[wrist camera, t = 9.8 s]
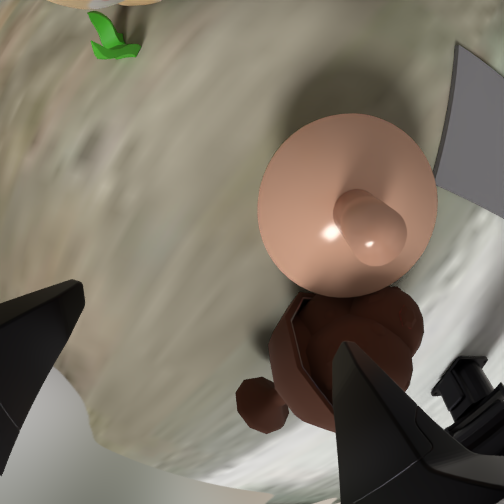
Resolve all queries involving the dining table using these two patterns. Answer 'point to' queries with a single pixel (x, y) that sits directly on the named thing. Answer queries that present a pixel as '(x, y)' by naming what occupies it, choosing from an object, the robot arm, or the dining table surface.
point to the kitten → (107, 27)
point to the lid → (347, 205)
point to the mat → (473, 134)
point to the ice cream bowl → (329, 354)
